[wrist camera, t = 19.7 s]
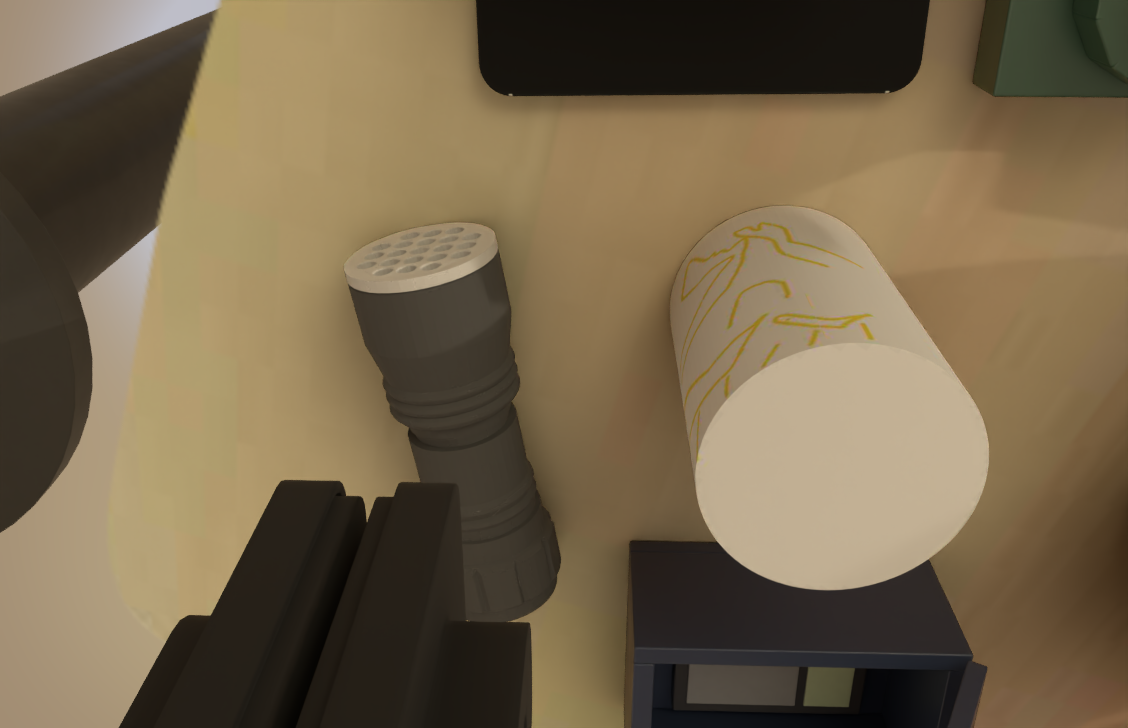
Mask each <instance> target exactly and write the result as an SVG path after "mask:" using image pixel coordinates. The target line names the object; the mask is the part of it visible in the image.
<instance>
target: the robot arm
mask: <svg viewBox="0 0 1128 728" xmlns="http://www.w3.org/2000/svg"><path fill="white" fill-rule="evenodd" d="M531 726H532V651H531V628H530V623H522V622H476V621H466V607H465V587H464V567H463V548H462V528H461V509H460V494H459V488H458V485H457V483H417V482H401V483H399V484H398V487H397V489H396V492H395V495H394V497H377V498H376V500H375V502H374V505H373V508H372V510H371V513H370V516H369V519H368V522H367V520H366V511H365V504H364V501H363V498H362V497H361V496H346V493H345V489H344V486H343V484H342V483H341V482H340V481H307V480H284V481H281V482H280V483H279V485H278V486H277V487H276V489H275V491H274V493H273V495H272V497H271V499H270V501H269V503H268V505H267V507H266V509H265V511H264V513H263V515H262V517H261V519H260V521H259V523H258V525H257V527H256V528H255V530H254V532H253V534H252V536H251V538H250V540H249V542H248V544H247V546H246V548H245V550H244V552H243V554H242V556H241V558H240V560H239V562H238V564H237V566H236V568H235V569H234V571H233V573H232V575H231V577H230V579H229V581H228V583H227V585H226V587H225V589H224V591H223V593H222V595H221V597H220V599H219V601H218V603H217V605H216V607H215V609H214V610H213V612H212V614H211V616H201V615H188V616H187V617H185V618H183V619H181V620H180V621H179V622H178V624H177V625H176V627H175V628H174V629H173V631H172V632H171V634H170V636H169V638H168V639H167V641H166V643H165V645H164V647H163V648H162V650H161V652H160V654H159V656H158V658H157V659H156V661H155V663H154V665H153V667H152V669H151V670H150V672H149V674H148V676H147V677H146V679H145V681H144V683H143V685H142V687H141V688H140V690H139V692H138V694H137V696H136V698H135V699H134V701H133V703H132V705H131V706H130V708H129V710H128V712H127V714H126V716H125V717H124V719H123V721H122V723H121V725H120V726H119V728H531Z"/></svg>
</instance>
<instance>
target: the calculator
mask: <svg viewBox="0 0 1128 728" xmlns="http://www.w3.org/2000/svg"><path fill="white" fill-rule="evenodd" d="M866 672H867V668H826V667H782V666H738V665H694V664H673V670H672V686H671V701H672V709H673V710H690V711H731V712H773V713H814V714H856V715H858V714H859V713H860V708H861V702H862V696H863V690H864V684H865V678H866Z"/></svg>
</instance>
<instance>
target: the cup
mask: <svg viewBox="0 0 1128 728" xmlns="http://www.w3.org/2000/svg"><path fill="white" fill-rule="evenodd" d="M670 322H671V329H672V336H673V342H674V349H675V355H676V362H677V369H678V375H679V382H680V388H681V395H682V401H683V408H684V415H685V421H686V428H687V434H688V441H689V448H690V454H691V461H692V467H693V474H694V480H695V487H696V494H697V499H698V503H699V507H700V510H701V513H702V516H703V518H704V520H705V522H706V524H707V526H708V528H709V530H710V532H711V533H712V535H713V536H714V538H715V539H716V540H717V541H718V543H719V544H720V545H721V546H722V547H723V548H724V550H725V551H726V552H727V553H728V554H730V555H731V556H732V557H733V558H734V559H735V560H737V561H738V562H739V563H740V564H742V565H743V566H745V567H746V568H748V569H750V570H751V571H753V572H755V573H757V574H759V575H761V576H763V577H765V578H767V579H770V580H773V581H775V582H778V583H782V584H785V585H789V586H793V587H798V588H805V589H814V590H843V589H852V588H858V587H864V586H868V585H872V584H876V583H879V582H883V581H886V580H888V579H891V578H894V577H896V576H899V575H901V574H903V573H905V572H907V571H909V570H911V569H913V568H915V567H917V566H918V565H920V564H922V563H923V562H925V561H926V560H928V559H929V558H931V557H932V556H933V555H935V554H936V553H937V552H939V551H940V550H941V549H942V548H943V547H944V546H946V545H947V544H948V543H949V542H950V541H951V540H952V539H953V538H954V537H955V536H956V534H957V533H958V532H959V531H960V530H961V529H962V527H963V526H964V525H965V523H966V522H967V520H968V519H969V518H970V516H971V514H972V513H973V511H974V509H975V507H976V505H977V503H978V501H979V499H980V496H981V494H982V492H983V488H984V485H985V482H986V477H987V473H988V465H989V444H988V437H987V432H986V428H985V424H984V422H983V419H982V416H981V414H980V412H979V410H978V408H977V406H976V404H975V402H974V401H973V399H972V398H971V396H970V395H969V393H968V392H967V390H966V389H965V387H964V386H963V384H962V383H961V382H960V380H959V379H958V377H957V376H956V374H955V373H954V371H953V370H952V368H951V367H950V365H949V364H948V363H947V361H946V360H945V358H944V357H943V355H942V354H941V352H940V351H939V349H938V348H937V347H936V345H935V344H934V342H933V341H932V339H931V338H930V336H929V335H928V333H927V332H926V330H925V329H924V328H923V326H922V325H921V323H920V322H919V320H918V319H917V317H916V316H915V314H914V313H913V312H912V310H911V309H910V307H909V306H908V304H907V303H906V301H905V300H904V298H903V297H902V295H901V294H900V293H899V291H898V290H897V288H896V287H895V285H894V284H893V282H892V281H891V279H890V278H889V277H888V275H887V274H886V272H885V271H884V269H883V268H882V266H881V265H880V263H879V262H878V260H877V259H876V258H875V256H874V255H873V253H872V252H871V250H870V249H869V247H868V246H867V245H866V243H865V242H864V241H863V240H862V238H861V237H860V236H859V235H858V234H857V233H856V232H855V231H854V230H853V229H851V228H850V227H849V226H847V225H846V224H845V223H843V222H842V221H840V220H838V219H837V218H835V217H833V216H831V215H828V214H826V213H824V212H821V211H818V210H814V209H811V208H806V207H800V206H786V205H781V206H769V207H763V208H758V209H754V210H750V211H747V212H744V213H742V214H739V215H737V216H735V217H732V218H730V219H728V220H727V221H725V222H723V223H721V224H720V225H718V226H717V227H715V228H714V229H713V230H711V231H710V232H709V233H708V234H706V235H705V236H704V237H703V238H702V239H701V240H700V241H699V242H698V243H697V244H696V245H695V246H694V248H693V249H692V250H691V251H690V253H689V254H688V256H687V257H686V258H685V260H684V262H683V263H682V265H681V267H680V269H679V271H678V274H677V276H676V278H675V281H674V285H673V288H672V293H671V299H670Z"/></svg>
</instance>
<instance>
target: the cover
mask: <svg viewBox="0 0 1128 728" xmlns="http://www.w3.org/2000/svg"><path fill="white" fill-rule="evenodd" d="M986 673H987V666H984V665H981V664H978V663H975V662H972V661H968V662H967V665H966V668H965V672H964V675H963V678H962V681H961V684H960V688H959V691H958V694H957V697H956V701H955V704H954V707H953V710H952V714H951V717H950V720H949V723H948V727H947V728H974V724H975V720H976V715H977V711H978V707H979V702H980V698H981V694H982V690H983V685H984V681H985V677H986Z"/></svg>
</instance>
